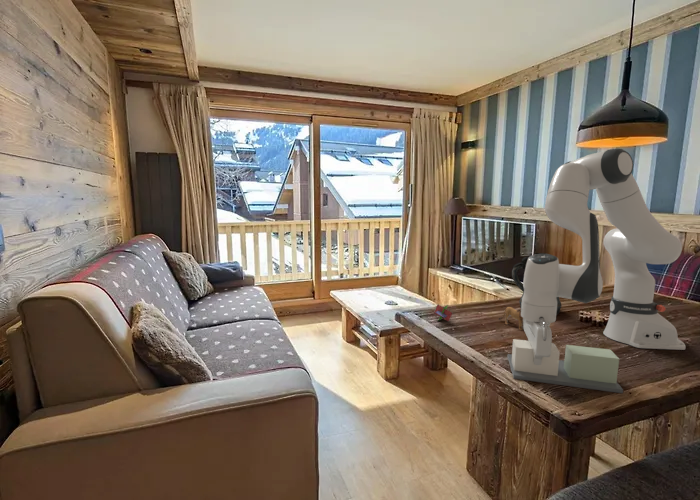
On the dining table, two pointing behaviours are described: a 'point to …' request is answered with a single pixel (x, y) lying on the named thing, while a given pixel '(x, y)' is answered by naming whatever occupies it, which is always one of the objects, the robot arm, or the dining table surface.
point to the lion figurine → (513, 316)
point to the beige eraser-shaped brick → (524, 359)
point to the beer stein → (520, 285)
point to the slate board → (564, 379)
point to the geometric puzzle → (442, 312)
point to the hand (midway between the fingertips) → (534, 358)
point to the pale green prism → (591, 364)
